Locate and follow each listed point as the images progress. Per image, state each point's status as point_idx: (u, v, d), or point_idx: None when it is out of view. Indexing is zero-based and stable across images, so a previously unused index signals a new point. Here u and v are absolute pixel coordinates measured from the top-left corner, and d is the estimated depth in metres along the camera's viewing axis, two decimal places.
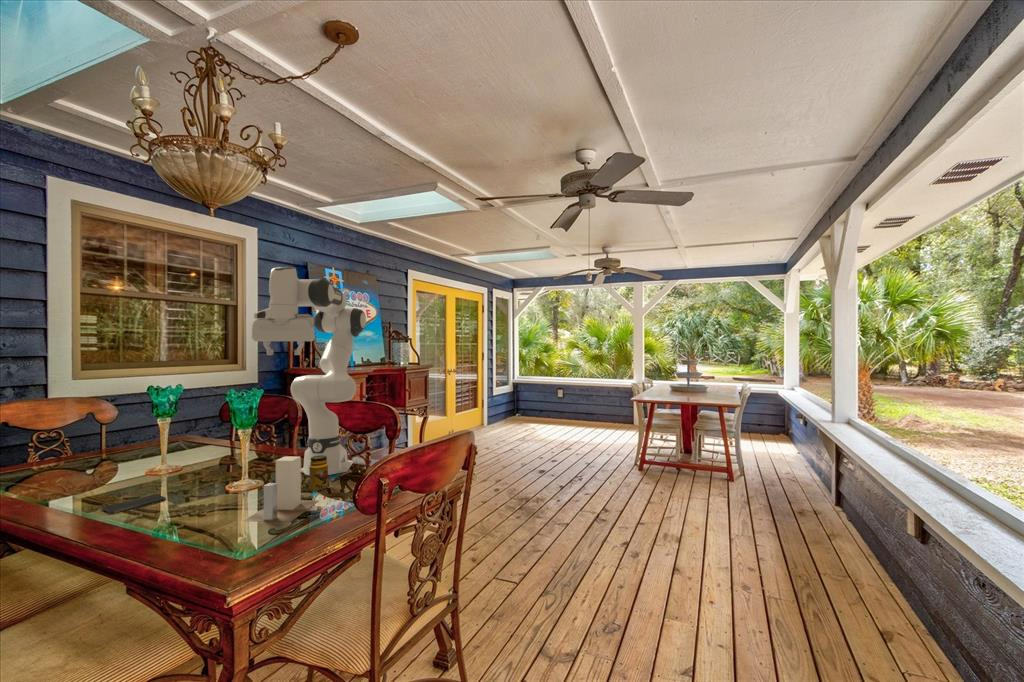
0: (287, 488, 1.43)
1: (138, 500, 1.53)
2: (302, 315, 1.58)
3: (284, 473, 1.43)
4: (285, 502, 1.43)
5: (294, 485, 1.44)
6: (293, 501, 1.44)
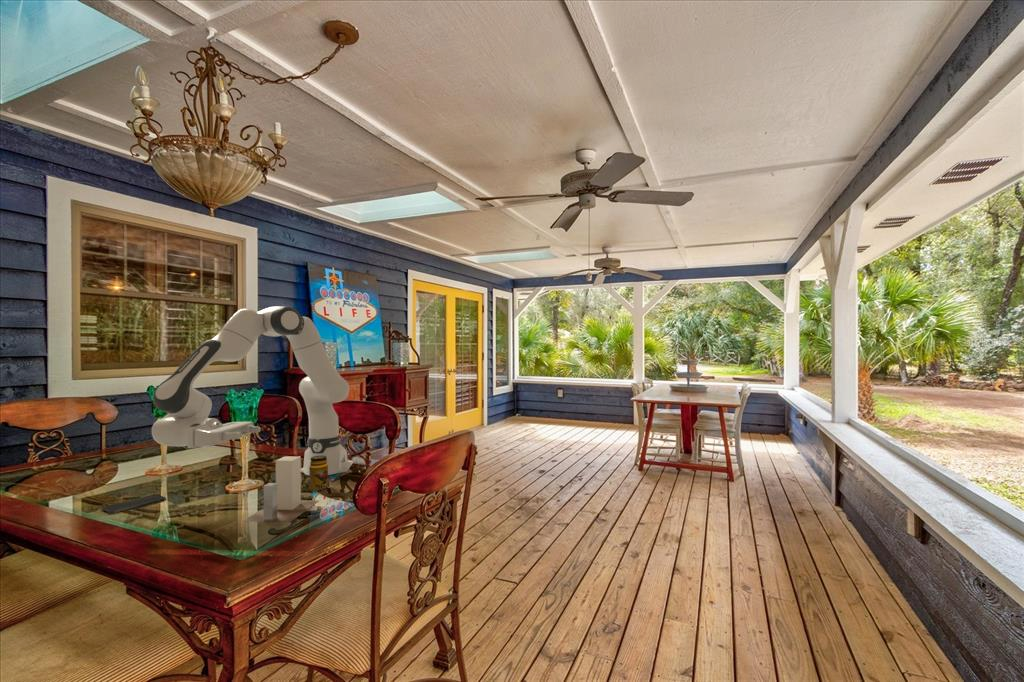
0: (287, 488, 1.43)
1: (138, 500, 1.53)
2: None
3: (284, 473, 1.43)
4: (285, 502, 1.43)
5: (294, 485, 1.44)
6: (293, 501, 1.44)
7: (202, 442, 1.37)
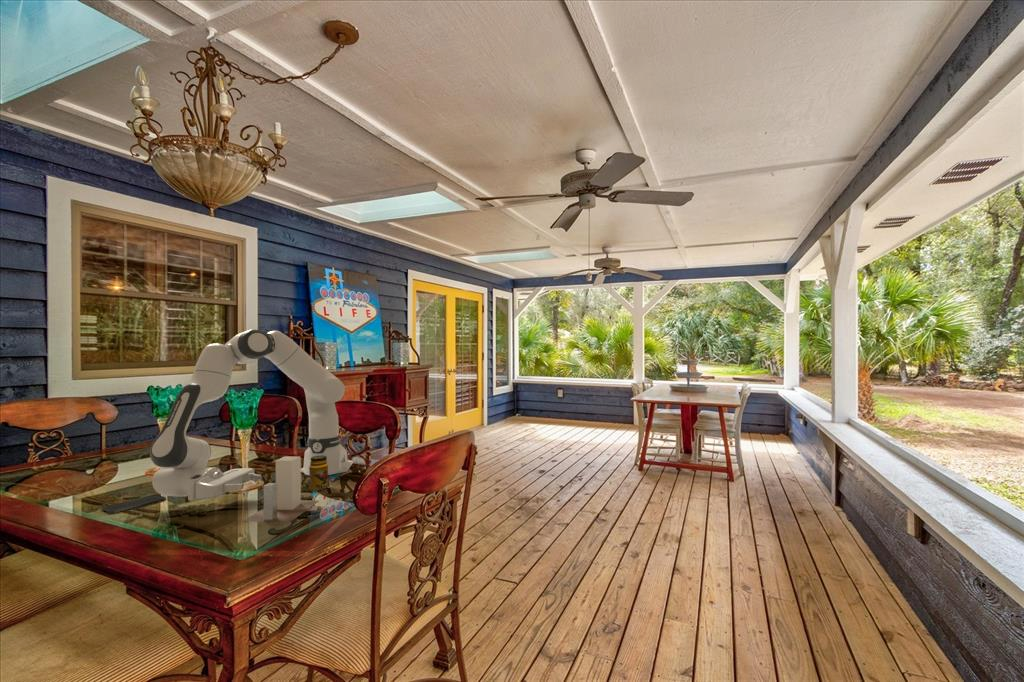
0: (287, 488, 1.43)
1: (138, 500, 1.53)
2: None
3: (284, 473, 1.43)
4: (285, 502, 1.43)
5: (294, 485, 1.44)
6: (293, 501, 1.44)
7: (203, 495, 1.37)
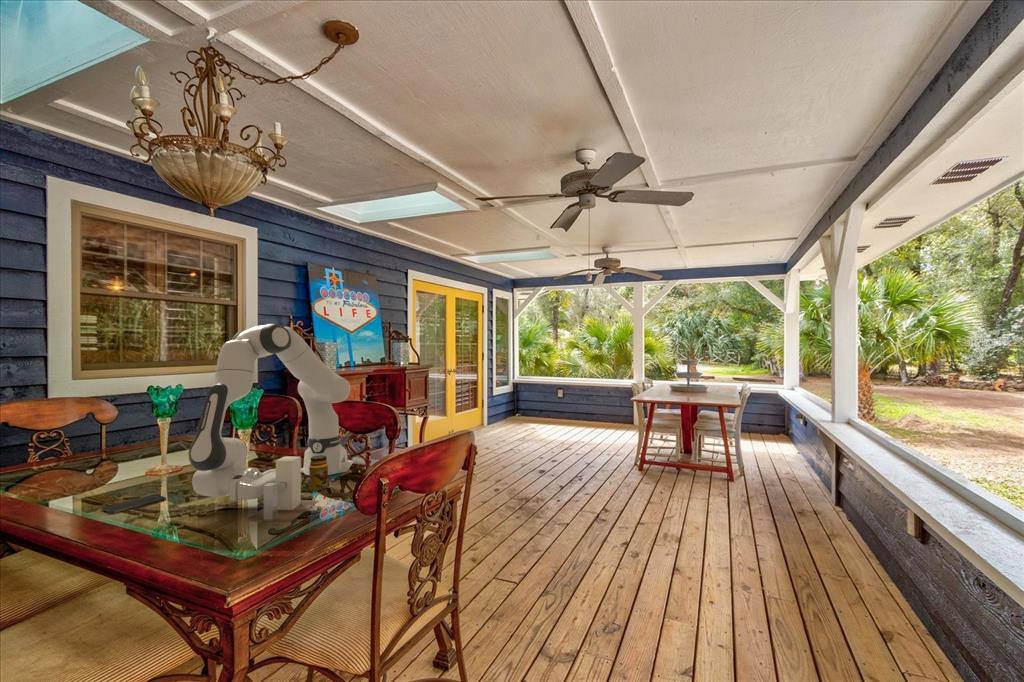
0: (287, 488, 1.43)
1: (138, 500, 1.53)
2: None
3: (284, 473, 1.43)
4: (285, 502, 1.43)
5: (294, 485, 1.44)
6: (293, 501, 1.44)
7: (246, 496, 1.36)
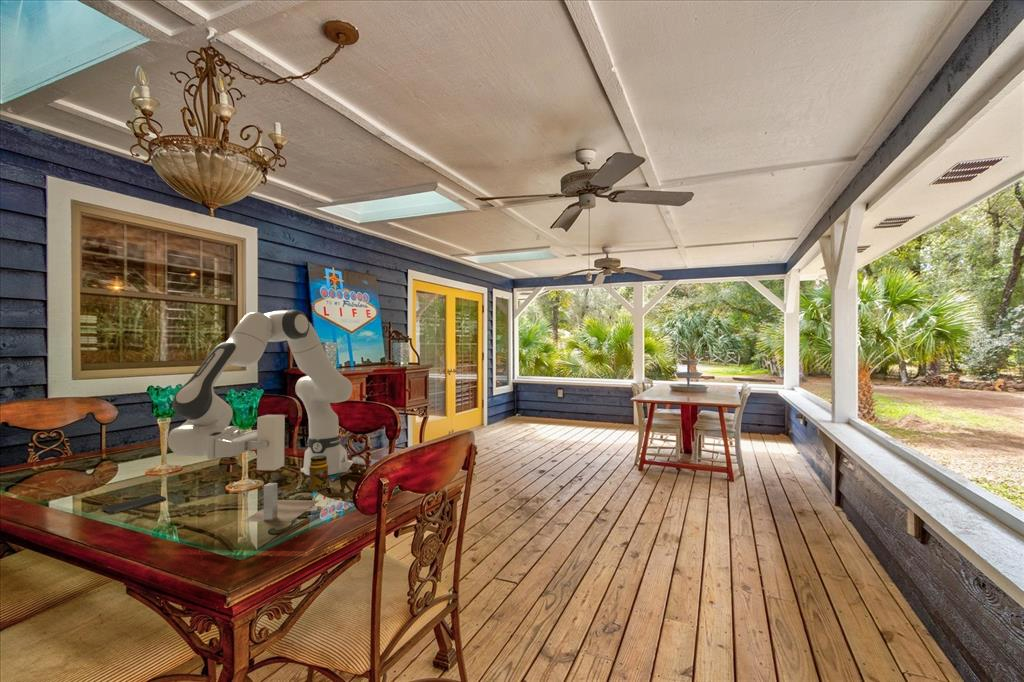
0: (269, 447, 1.33)
1: (138, 500, 1.53)
2: None
3: (266, 431, 1.33)
4: (267, 462, 1.33)
5: (277, 444, 1.35)
6: (276, 461, 1.34)
7: (224, 453, 1.26)
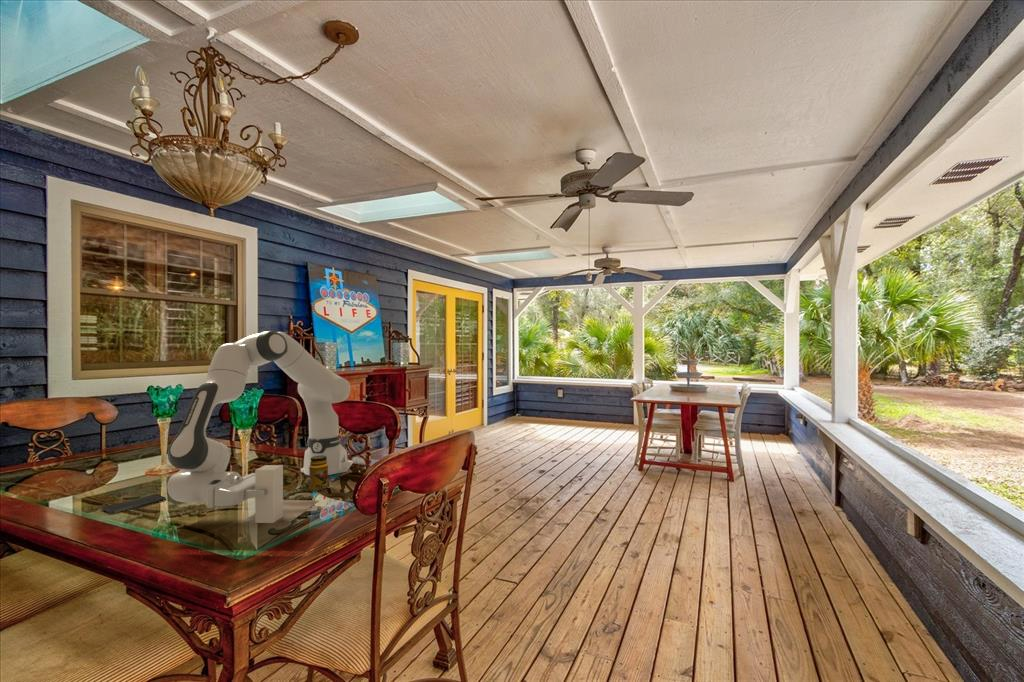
0: (268, 500, 1.33)
1: (138, 500, 1.53)
2: None
3: (264, 483, 1.33)
4: (265, 515, 1.33)
5: (275, 496, 1.34)
6: (274, 514, 1.33)
7: (223, 502, 1.26)
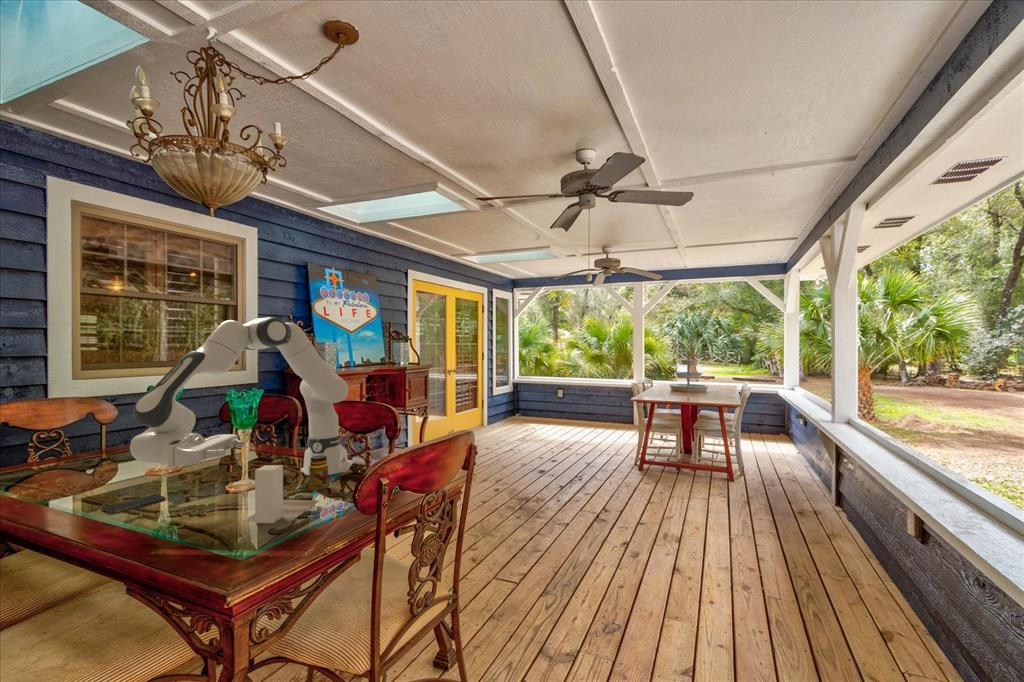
0: (267, 500, 1.33)
1: (138, 500, 1.53)
2: None
3: (264, 483, 1.33)
4: (265, 515, 1.33)
5: (275, 496, 1.34)
6: (274, 514, 1.33)
7: (183, 461, 1.30)
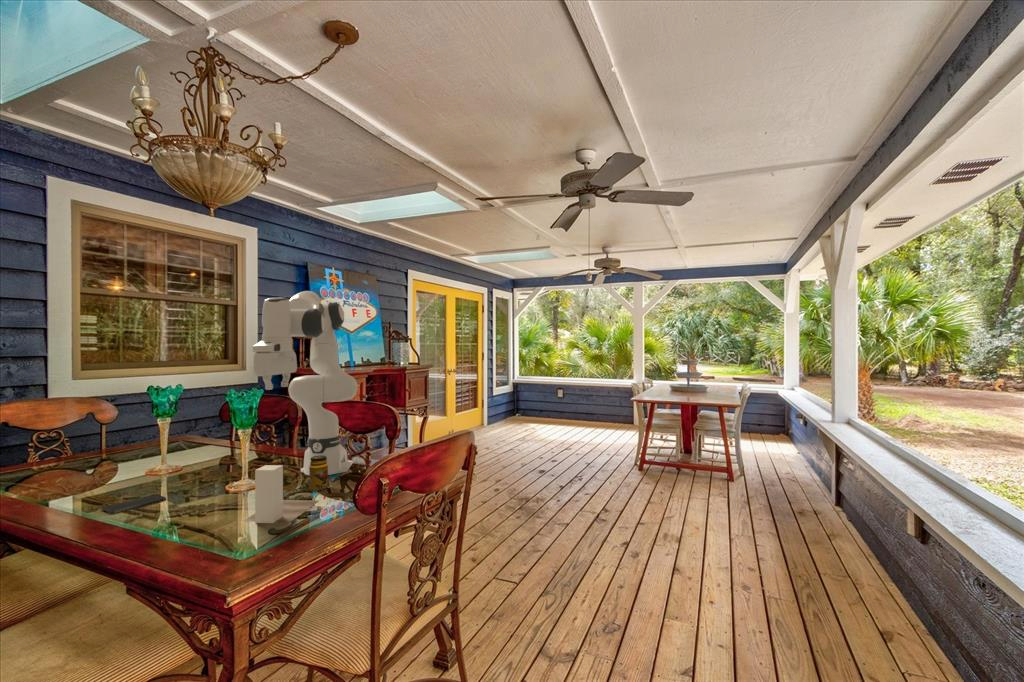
0: (267, 500, 1.33)
1: (138, 500, 1.53)
2: None
3: (264, 483, 1.33)
4: (265, 515, 1.33)
5: (275, 496, 1.34)
6: (274, 514, 1.33)
7: (256, 364, 1.44)
